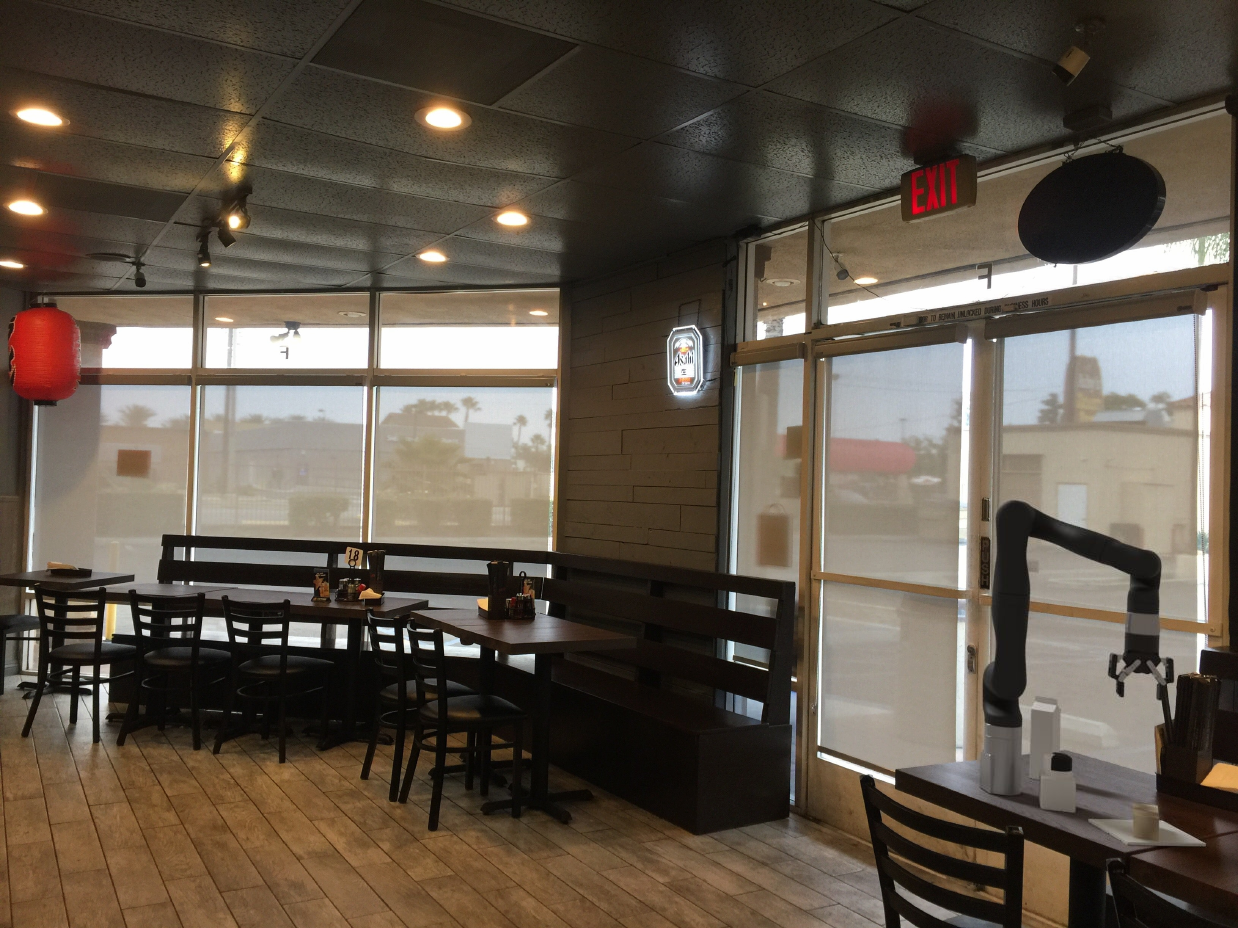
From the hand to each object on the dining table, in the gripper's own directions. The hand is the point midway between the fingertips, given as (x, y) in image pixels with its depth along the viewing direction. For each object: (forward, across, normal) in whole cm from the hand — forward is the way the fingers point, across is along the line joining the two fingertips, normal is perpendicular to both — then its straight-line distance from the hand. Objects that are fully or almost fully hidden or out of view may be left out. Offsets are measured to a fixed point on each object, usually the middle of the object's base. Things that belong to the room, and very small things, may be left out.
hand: (1140, 698), depth 243 cm
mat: (+28, +2, +15) cm, 32 cm away
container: (+29, +18, 0) cm, 34 cm away
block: (+25, +4, +22) cm, 33 cm away
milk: (+28, +15, -28) cm, 43 cm away
